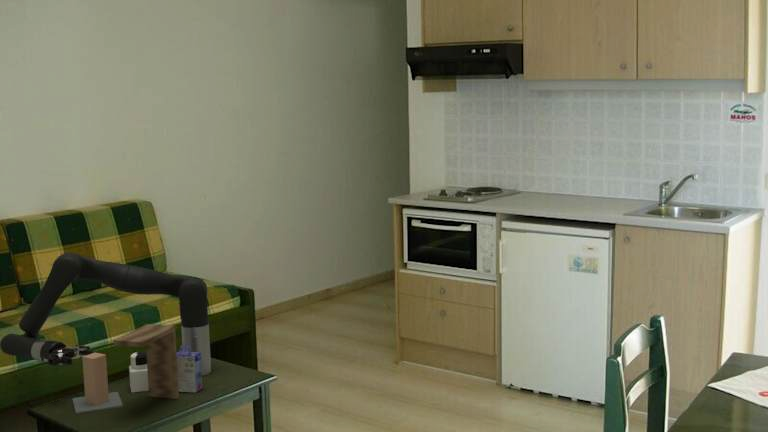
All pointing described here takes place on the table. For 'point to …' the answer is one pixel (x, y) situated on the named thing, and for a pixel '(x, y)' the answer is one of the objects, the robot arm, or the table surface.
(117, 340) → the walnut shelf
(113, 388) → the table surface
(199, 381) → the ink cartridge box
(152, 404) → the table surface
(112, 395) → the slate mat
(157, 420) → the table surface
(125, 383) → the table surface
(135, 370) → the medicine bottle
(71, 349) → the robot arm
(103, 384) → the terracotta carton
